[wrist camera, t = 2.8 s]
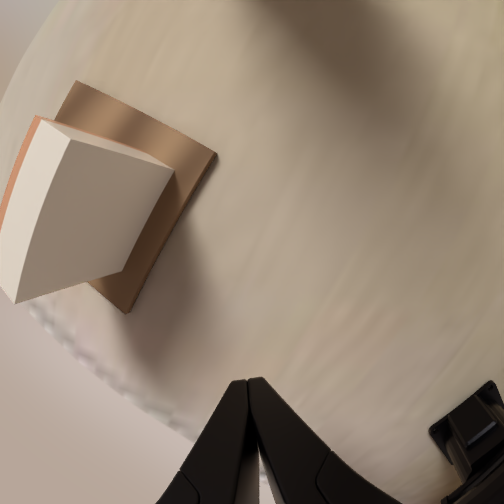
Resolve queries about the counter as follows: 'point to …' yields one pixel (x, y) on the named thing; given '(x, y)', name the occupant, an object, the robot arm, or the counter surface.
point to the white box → (72, 208)
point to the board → (158, 146)
